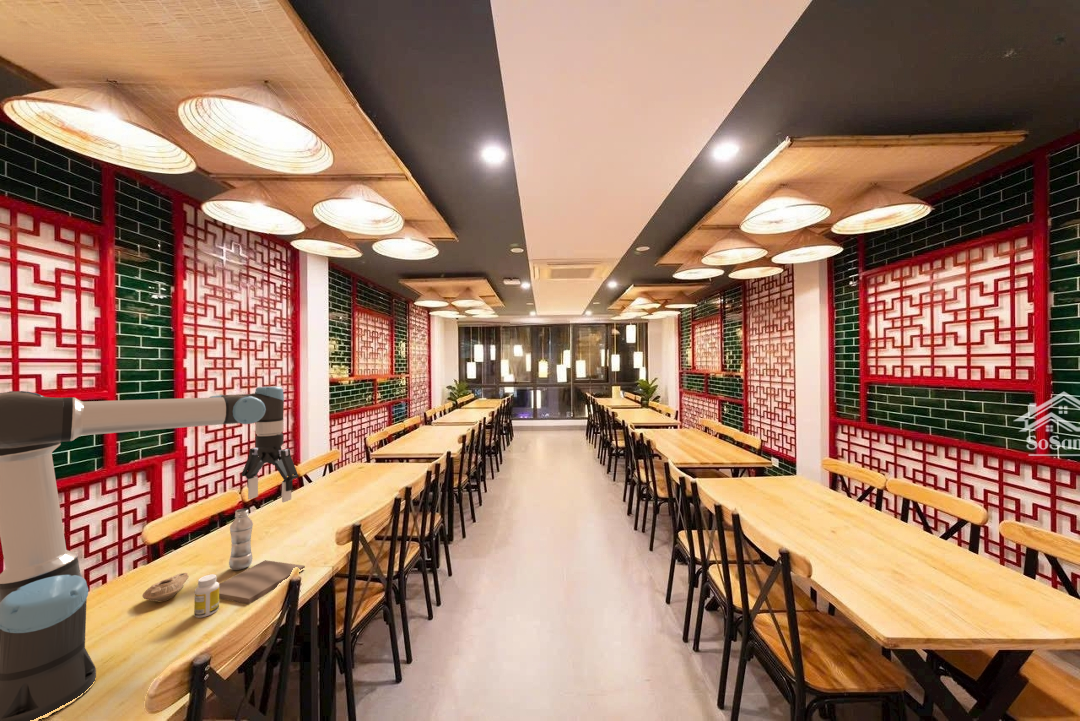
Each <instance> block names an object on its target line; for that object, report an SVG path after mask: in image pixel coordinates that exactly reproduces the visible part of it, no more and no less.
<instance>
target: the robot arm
mask: <svg viewBox="0 0 1080 721" xmlns="http://www.w3.org/2000/svg"><path fill="white" fill-rule="evenodd" d="M284 397H285V396H284V390H283V387H281V386H258V387H256V388H255V391H254V392H253V393H249V394H248V393H246V394H244V393H243V394H242V393H241V394H219V395H211V396H209V397H188V398H186V397H185V398H160V399H159V398H157V399H156V398H155V399H154V398H153V399H151V398H150V399H124V400H123V399H121V400H119V399H118V400H98V401H97V400H96V401H95V400H93V401H92V400H91V401H90V400H89V401H82V400H80V399H78V398H76V397H71V396H70V397H53V396H52V397H50V396H44V395H41V394H39V393H36V392H32V391H24V390H19V391H18V390H17V391H13V390H11V391H6V392H5V391H4V392H0V543H1V550H2V555H3V556H2V557H3V561H4V567H5V568H4V570H3V571H2V572H1V573H0V721H30V720H34V719H36V718H38V717H40V716H43V715H45V714H47V713H49V712H51V711H53V710H55V709H57V708H59V707H60V706H62V705H65V704H66V703H68V702H70V701H72V700H73V699H75V698H77V697H78V696H80V695H81V694H82V693H84V692H85V691H86V690H87V689H88V688H89V687H90V686H91V685H92V684H93V682H94V681H95V682H96V680H95V678H96V679H97V668H96V666H95V663H94V662H93V660H92V658H91V657H90V655H89V652H88V651H87V649H86V623H87V622H86V621H87V600H88V599H87V598H88V596H89V587H88V585H87V584H88V583H87V580H86V579H85V578H84V577H83V576H82V574H81V569H80V562H79V556H78V553H77V552H75V551H71V550H68V549H67V545H66V539H65V538H66V537H65V533H64V532H65V531H64V526H63V518H62V513H61V505H60V499H59V492H58V486H57V481H56V480H57V479H56V472H55V466H54V460H53V459H54V458H53V452H54V451H55V450H56V449H57V448H59V447H60V446H61V443H62V442H72V441H74V440H75V439H77V438H79V437H81V436H90V435H91V436H92V435H103V434H106V435H107V434H114V433H115V434H116V433H129V432H142V431H154V430H166V429H178V428H179V429H180V428H181V429H182V428H191V427H192V428H193V427H205V426H218V425H219V426H220V425H233V424H234V425H235V424H242V425H248V424H249V425H251V424H252V425H253V424H254V423H255V430H254V432H255V435H256V436H255V439H254V440H255V442H254V443H255V444H254V445H255V447H253V448H250V449H249V453H248V458H247V459H246V462H245V464H244V467H243V469H242V472H241V476H242V477H245V479H247V481H246V484H247V486H246V487H247V489H248V491H247V493H248V495H247V496H248V498H247V499H248V500H253V499H255V498H257V497H259V475H258V473H259V472H260V471H261V469H262V467H264V465H265V464H271V465H272V466H274V467H275V468H276V469H277V471H278V473H279V474H280V476H281V477H282V479H283V480H282V482H281V502H282V503H286V502H288V501H291V500H292V491H293V480H295V479H298V478H299V473H298V471H297V468H296V466H295V463H294V461H293V459H292V455H291V449H290V448H286V449H282V446H283V444H284V440H285V439H284V437H285V436H284V433H283V432H284V408H285V406H284V405H285V402H284V401H285V398H284ZM93 685H94V684H93Z"/></svg>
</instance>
